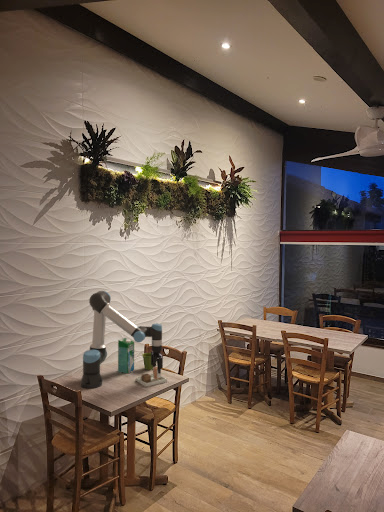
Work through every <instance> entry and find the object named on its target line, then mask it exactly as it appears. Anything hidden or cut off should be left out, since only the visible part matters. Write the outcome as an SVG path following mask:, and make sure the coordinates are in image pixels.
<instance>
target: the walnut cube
mask: <svg viewBox="0 0 384 512" xmlns="http://www.w3.org/2000/svg"><path fill="white" fill-rule="evenodd" d="M140 376H141V380H142V381H144V382H145V383H149V382H151V375H150V374H149V373H144V374H141V375H140Z"/></svg>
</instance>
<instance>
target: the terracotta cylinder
mask: <svg viewBox="0 0 384 512" xmlns="http://www.w3.org/2000/svg"><path fill="white" fill-rule="evenodd" d="M157 368H158V367H157V366H156V367H155V368H153V369H152V374H153V378H154V379H160V378H157Z"/></svg>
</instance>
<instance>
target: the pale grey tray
mask: <svg viewBox="0 0 384 512" xmlns="http://www.w3.org/2000/svg"><path fill="white" fill-rule="evenodd" d="M149 375H151V382H149V383H145V382H144V381H142V380H141V375H140V376H136V377H135V382H137V383H138V384H140V385H142V386H144V387H145V388H149V387H152V386H156V385H161V384H160V383H162V384H165V382H166V383H167V382H168V379H167V378H166V377H164V376H162V375H161V377H160V379H154V378H153V373H150V374H149Z"/></svg>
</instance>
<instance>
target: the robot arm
mask: <svg viewBox="0 0 384 512" xmlns="http://www.w3.org/2000/svg"><path fill="white" fill-rule="evenodd" d="M111 300H112V298H111V295H110V294H109V292H108V291H105V290H98V291H97V292H95V293H92V294H91V295H90V297H89V298H88V302H89V305H90V307H91V308H92V309H91V310H92V311H93V325H92V327H93V328H92V342H91V344H90V345H89V350H86V351H85V352H83V354H82V376H81V380H80V383H79V385H80V387H81V388H84V389H96V388H99V387H101V386H102V385H103V378H102V376H101V364H102V363H104V362H105V360H106V358H107V356H108V352H107V349H106V348H107V346H106V344H105V336H106V335H105V333H106V322H107V320H106V319H108V320H109V321H111V322H113V324H115V325H116V326H118V327H119V328H121V330H123V331H125V332H126V333H127V334H128V335H130V336H131V337H132V338H133V341H134V342H135V343H141V342H143V341H144V340H145V338H151V351H150V353H151V365H152V366H153V368H155V367H158V368H157V378H160V377H161V376H162V370H161V369H164V368H163V367H164V366H163V363H164V362H163V359H164V355H163V354H162V350H163V325H162V324H161V323H157V322H156V323H151V326H141V325H140V326H138V325H136V324H134V323H133V322H132V321H131V320H130V319H128V318H127V317H126V316H124V315H123V314H121V313H120V312H119V311H117V310H116V309H114V307H112V306H111V305H110V304H111V303H110V302H111Z"/></svg>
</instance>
